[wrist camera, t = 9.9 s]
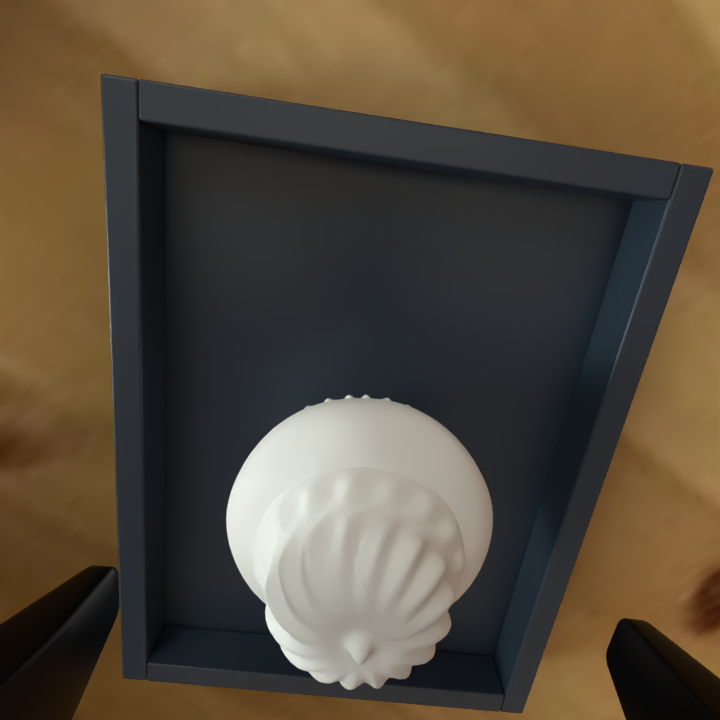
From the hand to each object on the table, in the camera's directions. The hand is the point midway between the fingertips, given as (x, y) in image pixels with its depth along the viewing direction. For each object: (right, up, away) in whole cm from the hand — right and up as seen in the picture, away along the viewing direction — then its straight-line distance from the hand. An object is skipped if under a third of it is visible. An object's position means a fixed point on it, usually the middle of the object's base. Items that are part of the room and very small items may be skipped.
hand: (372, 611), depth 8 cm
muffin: (0, +2, +6) cm, 6 cm away
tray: (0, +2, +7) cm, 7 cm away
